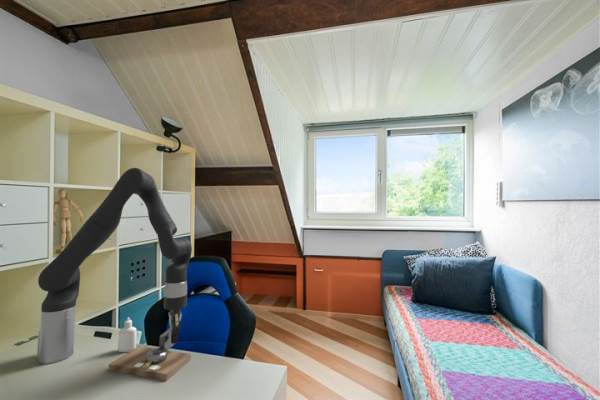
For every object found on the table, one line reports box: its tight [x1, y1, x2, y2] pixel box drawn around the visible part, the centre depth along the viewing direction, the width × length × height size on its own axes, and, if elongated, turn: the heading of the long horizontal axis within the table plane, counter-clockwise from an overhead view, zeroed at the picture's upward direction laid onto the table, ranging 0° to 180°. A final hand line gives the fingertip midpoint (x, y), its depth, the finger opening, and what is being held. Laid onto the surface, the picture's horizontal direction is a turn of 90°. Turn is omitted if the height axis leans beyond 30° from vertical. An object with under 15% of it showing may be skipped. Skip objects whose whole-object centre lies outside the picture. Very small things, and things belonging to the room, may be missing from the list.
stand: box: [108, 345, 192, 381], centre depth 91 cm, size 22×12×2 cm, turn 77°
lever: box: [145, 327, 175, 367], centre depth 93 cm, size 6×16×6 cm, turn 177°
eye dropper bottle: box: [117, 317, 138, 353], centre depth 101 cm, size 4×6×12 cm
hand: (174, 342), depth 97 cm, fingers closed
